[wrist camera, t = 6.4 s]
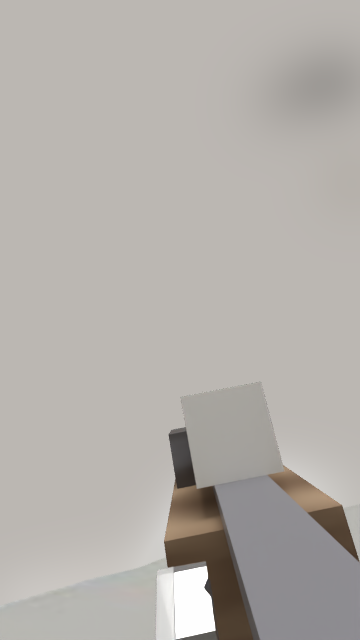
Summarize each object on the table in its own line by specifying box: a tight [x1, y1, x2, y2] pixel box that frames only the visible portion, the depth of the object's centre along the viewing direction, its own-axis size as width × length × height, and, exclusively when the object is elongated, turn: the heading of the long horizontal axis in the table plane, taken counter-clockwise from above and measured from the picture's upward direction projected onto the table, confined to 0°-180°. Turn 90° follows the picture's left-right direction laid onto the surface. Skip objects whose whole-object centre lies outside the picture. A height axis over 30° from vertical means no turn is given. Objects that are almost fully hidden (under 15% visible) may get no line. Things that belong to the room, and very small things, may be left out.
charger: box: [181, 382, 360, 640], centre depth 13 cm, size 17×5×7 cm, turn 178°
